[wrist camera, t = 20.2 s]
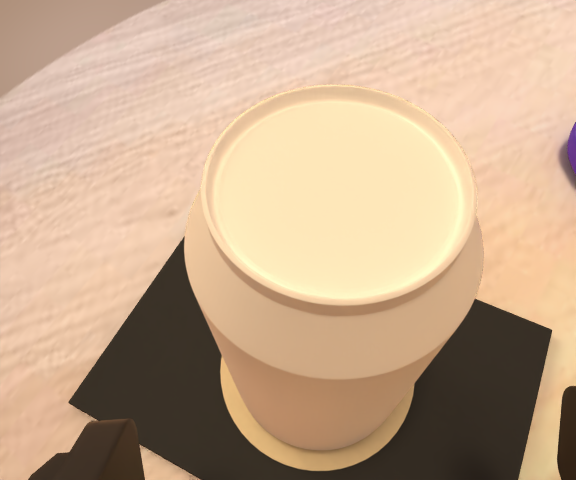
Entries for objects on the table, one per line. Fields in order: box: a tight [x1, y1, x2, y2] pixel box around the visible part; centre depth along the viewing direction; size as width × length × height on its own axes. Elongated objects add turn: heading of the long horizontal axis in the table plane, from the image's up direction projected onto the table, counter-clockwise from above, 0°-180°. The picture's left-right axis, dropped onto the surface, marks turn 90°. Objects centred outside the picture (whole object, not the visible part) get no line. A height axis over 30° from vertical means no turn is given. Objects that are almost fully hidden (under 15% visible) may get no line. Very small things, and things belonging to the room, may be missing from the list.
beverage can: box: [184, 85, 484, 450], centre depth 14 cm, size 6×6×12 cm
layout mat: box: [69, 236, 552, 480], centre depth 19 cm, size 16×11×1 cm
